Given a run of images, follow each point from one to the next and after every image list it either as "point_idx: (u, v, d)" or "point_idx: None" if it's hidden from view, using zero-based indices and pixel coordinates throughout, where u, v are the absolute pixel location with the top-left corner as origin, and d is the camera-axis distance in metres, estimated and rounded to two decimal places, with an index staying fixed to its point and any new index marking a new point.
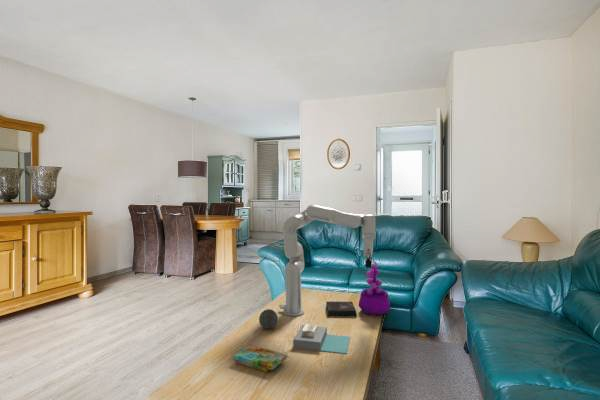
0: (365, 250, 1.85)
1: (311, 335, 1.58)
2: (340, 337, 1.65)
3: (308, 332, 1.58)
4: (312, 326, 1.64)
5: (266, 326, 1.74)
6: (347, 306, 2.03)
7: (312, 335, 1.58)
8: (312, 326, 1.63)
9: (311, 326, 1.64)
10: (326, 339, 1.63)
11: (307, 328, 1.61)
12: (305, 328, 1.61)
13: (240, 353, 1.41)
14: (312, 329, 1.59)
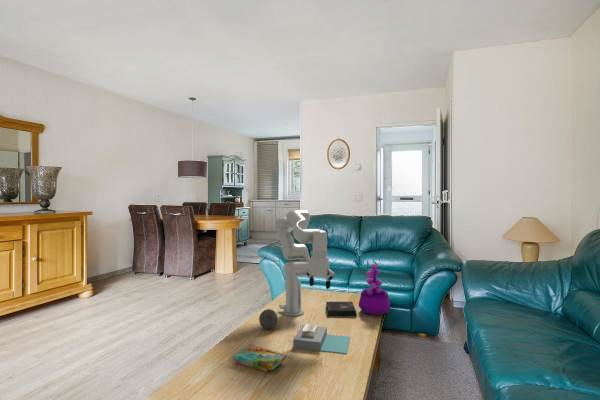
0: (326, 270, 1.68)
1: (311, 335, 1.58)
2: (340, 337, 1.65)
3: (308, 332, 1.58)
4: (312, 326, 1.64)
5: (266, 326, 1.74)
6: (347, 306, 2.03)
7: (312, 335, 1.58)
8: (312, 326, 1.63)
9: (311, 326, 1.64)
10: (326, 339, 1.63)
11: (307, 328, 1.61)
12: (305, 328, 1.61)
13: (240, 353, 1.41)
14: (312, 329, 1.59)
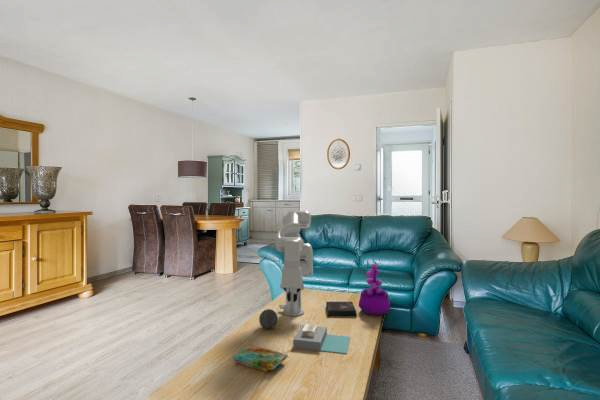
0: (301, 281, 1.61)
1: (311, 335, 1.58)
2: (340, 337, 1.65)
3: (308, 332, 1.58)
4: (312, 326, 1.64)
5: (266, 326, 1.74)
6: (347, 306, 2.03)
7: (312, 335, 1.58)
8: (312, 326, 1.63)
9: (311, 326, 1.64)
10: (326, 339, 1.63)
11: (307, 328, 1.61)
12: (305, 328, 1.61)
13: (240, 353, 1.41)
14: (312, 329, 1.59)
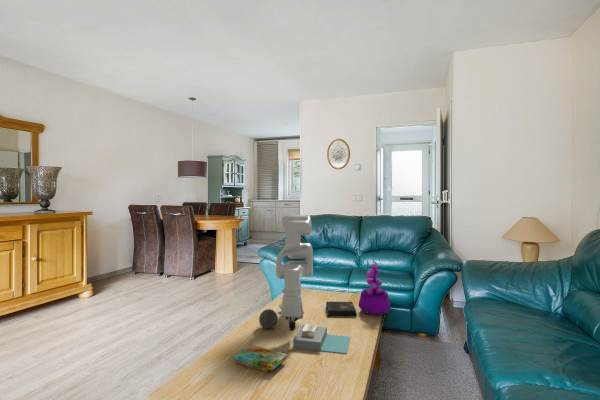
0: (301, 309, 1.61)
1: (311, 335, 1.58)
2: (340, 337, 1.65)
3: (308, 332, 1.58)
4: (312, 326, 1.64)
5: (266, 326, 1.73)
6: (347, 306, 2.03)
7: (312, 335, 1.58)
8: (312, 326, 1.63)
9: (311, 326, 1.64)
10: (326, 339, 1.63)
11: (307, 328, 1.61)
12: (305, 328, 1.61)
13: (240, 353, 1.41)
14: (312, 329, 1.59)
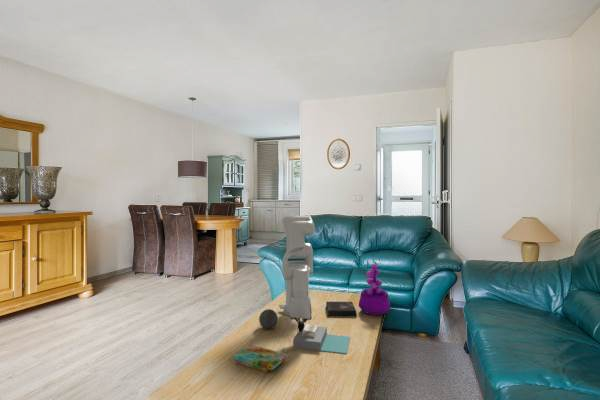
0: (310, 311, 1.60)
1: (312, 335, 1.58)
2: (340, 337, 1.65)
3: (309, 332, 1.58)
4: (313, 326, 1.64)
5: (266, 326, 1.73)
6: (347, 306, 2.03)
7: (313, 335, 1.58)
8: (312, 326, 1.63)
9: (312, 326, 1.64)
10: (326, 339, 1.63)
11: (308, 328, 1.61)
12: (306, 328, 1.61)
13: (240, 353, 1.41)
14: (312, 330, 1.59)
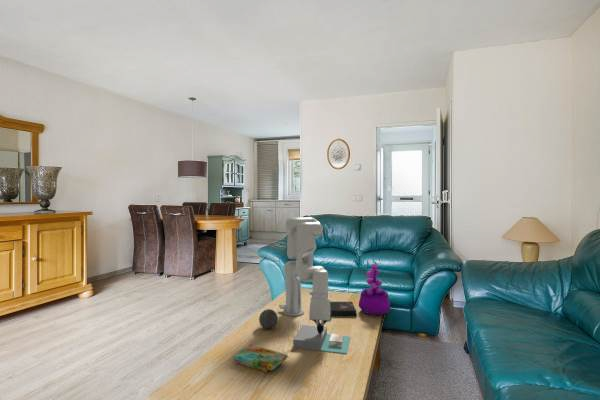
0: (330, 312, 1.58)
1: (331, 342, 1.56)
2: None
3: (334, 345, 1.55)
4: None
5: (266, 326, 1.73)
6: (347, 306, 2.03)
7: (330, 342, 1.56)
8: None
9: None
10: (326, 339, 1.63)
11: None
12: None
13: (240, 353, 1.41)
14: None
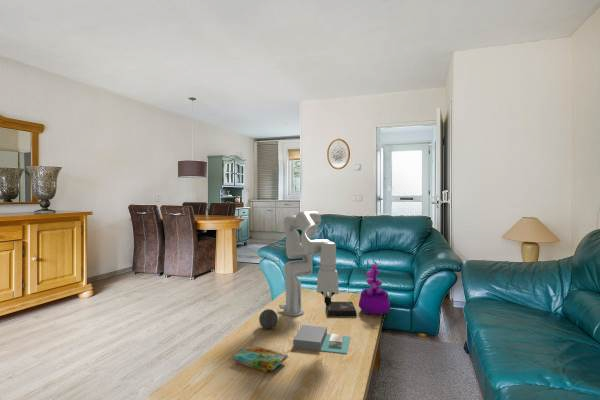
0: (337, 284, 1.57)
1: (331, 342, 1.56)
2: None
3: (334, 345, 1.55)
4: None
5: (266, 326, 1.74)
6: (347, 306, 2.03)
7: (330, 342, 1.56)
8: None
9: None
10: (326, 339, 1.63)
11: None
12: None
13: (240, 353, 1.41)
14: None
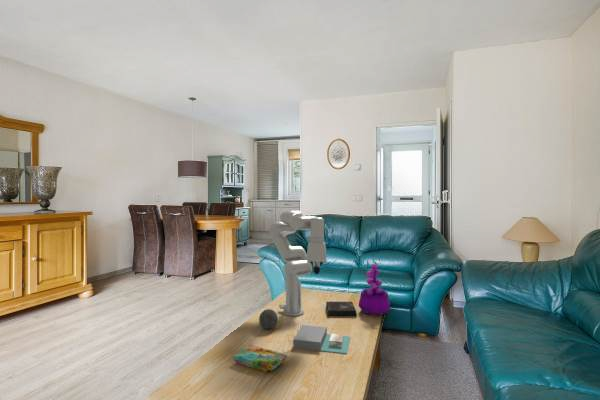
0: (325, 255, 1.76)
1: (331, 342, 1.56)
2: None
3: (334, 345, 1.55)
4: None
5: (266, 326, 1.73)
6: (347, 306, 2.03)
7: (330, 342, 1.56)
8: None
9: None
10: (326, 339, 1.63)
11: None
12: None
13: (240, 353, 1.41)
14: None
